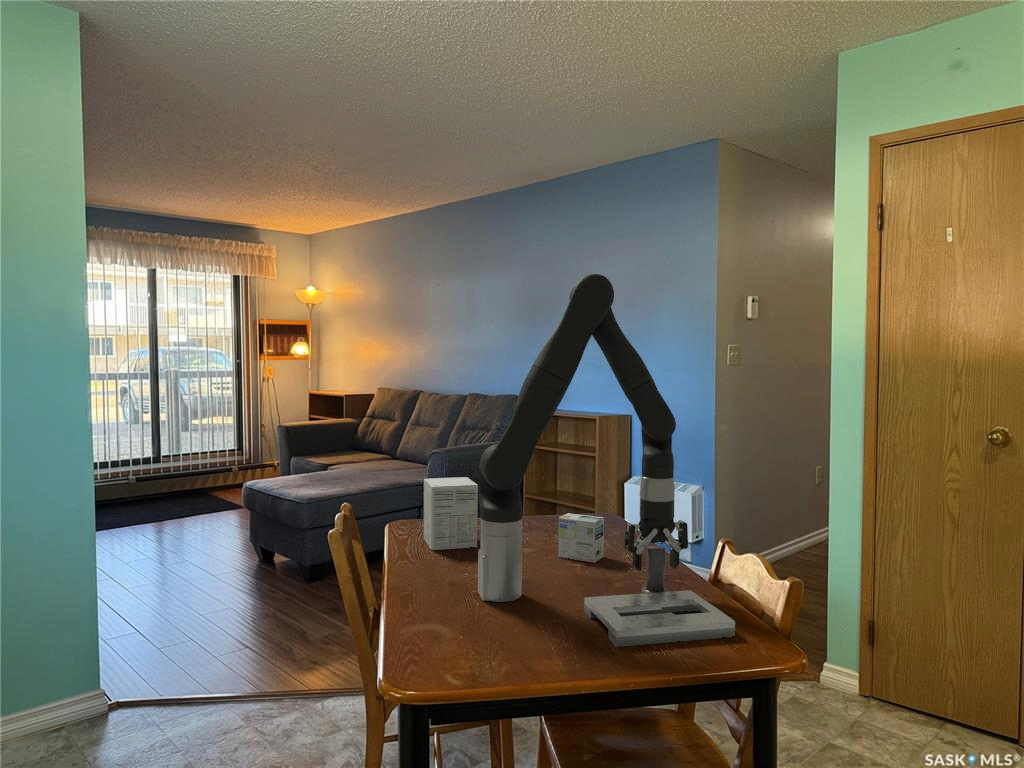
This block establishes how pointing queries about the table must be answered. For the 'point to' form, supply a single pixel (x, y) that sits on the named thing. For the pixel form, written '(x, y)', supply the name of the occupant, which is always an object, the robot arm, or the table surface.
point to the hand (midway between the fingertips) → (655, 568)
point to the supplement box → (450, 513)
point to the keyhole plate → (658, 618)
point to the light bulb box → (581, 537)
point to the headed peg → (655, 570)
